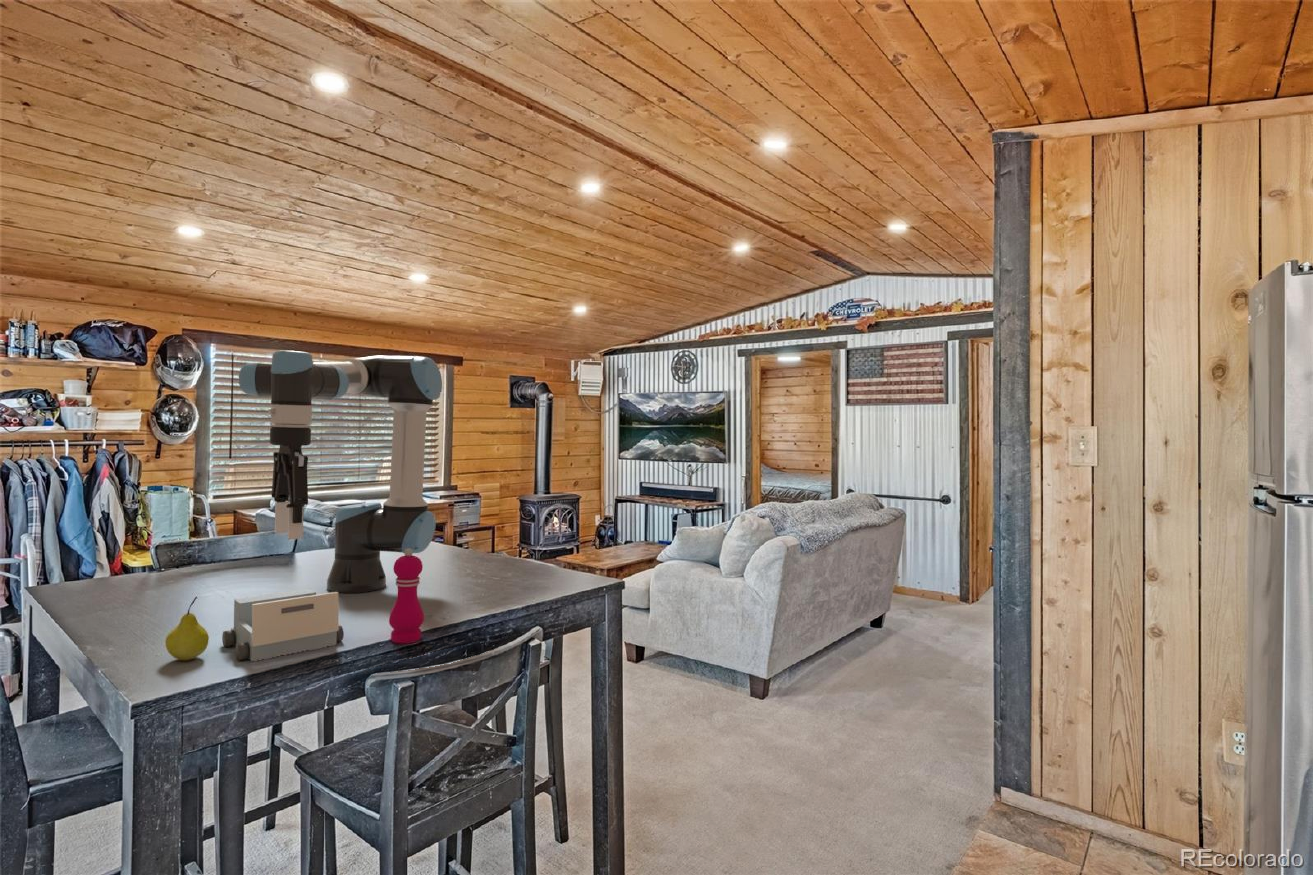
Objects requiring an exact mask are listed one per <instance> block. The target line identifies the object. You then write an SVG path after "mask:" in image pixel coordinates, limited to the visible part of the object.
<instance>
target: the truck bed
mask: <svg viewBox="0 0 1313 875" xmlns="http://www.w3.org/2000/svg"><path fill="white" fill-rule="evenodd" d="M312 595H317V592H316V591H315V590H313V589H311V588H306V589H298V590H291V591H283V592H277V593H269V594H262V595H256V596H249V597H247V596H246V597H240V598H235V599H234V602H233V603H234V604H233V607H234V608H233V627H231V628H230V629H229V630H225V631H223V632H222V634H221V635H222V636H221V639H222V645H223V648H227V647H233V646H235V656H236V658H235V659H236V660H237V661H239V662H240V661H245V660H249V659H250V660H251V661H250V660H249V661H250V662H251V663H253V662H252V661H254V662H258V661H257V660H259V661H263V660H262V659H264V660H268V659H273V658H272V657H274V658H277V657H276V656H279V655H284V656H287V654H289V655H292V654H291V653H294V654H298V653H297V652H299V653H302V652H301V651H304V652H307V651H306V650H309V651H313V650H318V649H319V650H320V649H324V648H328V647H327V646H329V647H333V646H337V642H341V641H343V639H344V637H345V636H344V628H343V626H342V625H339V631H334V632H329V633H323V634H318V635H313V636H307V637H302V638H296V639H291V640H286V641H280V642H275V643H269V644H264V645H259V646H252V604H257V603H264V602H271V601H278V600H284V599H291V598H298V597H305V596H312ZM323 647H324V648H323ZM279 657H280V656H279Z"/></svg>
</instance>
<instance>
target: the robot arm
mask: <svg viewBox="0 0 1313 875" xmlns="http://www.w3.org/2000/svg"><path fill="white" fill-rule="evenodd" d="M313 361H314V360H313V355H312V354H311V353H310V352H306V351H297V350H296V351H295V350H276V351H275V352H274V353H273V354H272V358H271V362H261V361H259V362H247V363H245V364H244V365H243V366H242V367H241V368H240V370H239V373H238V384H239V388H240V389H241V391H242V392H243V393H244V394H245V395H248V396H252V397H253V396H254V397H258V398H260V397H263V398H264V397H267V398H268V397H269V398H271V400H270V408H269V409H268V410H267V413H268V415H270V424H272V425H273V426H271V427H270V429H269V443H270V445H271V446H272V445H273V446H279V450H278V451H274V452H273V453H272V456H273V473H272V485H271V498H273V500H274V534H285V533H287V536H286V537H287V540H301V539H304V507H305V506H307V505H308V504H309V493H308V492H309V491H308V490H309V488H308V487H309V486H308V483H309V482H308V463H309V462H308V461H309V457H308V456H307V455H304V454H303V452H302V446H309V445H311V442H312V440H311V438H312V429H311V428H310V427H309V425H311V424H312V421H313V420H312V418H313V417H312V416H313V412H312V411H313V410H312V409H313V406H312V400H313V399H316V400H317V399H320V400H321V399H322V400H329V401H331V400H337V399H340V398H342V397H343V396H344V395H345V394H347V395H363V396H371V397H377V398H378V397H379V398H387V400H388V401H387V404H388V405H389V407H390V408H392V410H393V415H392V419H393V420H392V439H391V458H390V459H391V460H390V479H389V497H388V498H387V499H386V500H385V501H384V502H383V504H382V503H381V502H365V503H364V502H363V503H357V504H351V505H345V506H341V507H339V508H337V510H336V512H335V520H334V521H335V522H334V525H335V527H334V560H333V564H332V566H331V568H330V571H329V574H328V576H327V579H326V580H327V581H326V589H327V590H328V591H330V592H338V593H342V594H349V593H351V594H354V593H355V594H358V593H367V592H373V591H377V590H381V589H382V588H384V587H386V585H387V583H386V582H387V576H386V574H385V570H384V567H383V564H382V562H381V552H386V553H387V552H389V553H403V554H404V551H405V550H406V549H408V548H410V549H412V551H413V554H420V553H422V552H424V551H425V550H426V549H427V548H428V547H429V546H430V544H431V542H432V541H433V537H434V536H435V531H436V526H437V525H436V523H437V522H436V521H437V520H436V517H435V514H434V513H433V512H431V511H430V510H429V503H427V501H426V500H424V497H423V494H424V491H423V490H424V474H425V472H424V471H425V456H426V455H425V451H426V432H427V429H426V428H427V413H428V411H429V410H430V409H431V408H433V402H434V401H435V400H437V399H438V398H439V397H440V396H441V392H442V390H443V379H442V374H441V371H440V368H439V366H438V364H437V363H436V362H435V361H434V360H433V359H432V358H430V357H427V356H419V355H385V354H384V355H382V354H380V355H370V356H364V357H357V358H356V357H355V358H353V357H352V358H346V359H343V360H342V361H340V362H338V361H335V362H329V361H328V362H325V361H324V362H323V361H322V362H313Z"/></svg>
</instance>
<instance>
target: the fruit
mask: <svg viewBox="0 0 1313 875" xmlns="http://www.w3.org/2000/svg"><path fill="white" fill-rule="evenodd" d="M197 599H198V596H195V598H194V599H193V600H192V602H191V603H190V605H189V607H188V610H187V613H185V614H184V615H183V616H181V619H180V621H179V623H178V624H177V626H176V627H174V628H173V629H172V630H171V631H170V632H169V633H168V634H167V636H165V637H166V638H165V641H164V642H165V647H166V650H167V652H168V654H169V655H171V657H173V658H174V659H177V660H179V661H191V660H194V659H196V658H197V657H198V656H200V655H202V654H203V653H204V652H205V651H206V650H207V648H208V645H209V637H210V636H209V633H208V631H207V630H206V629H205V628H204V626H202V625H201V624H200V623H199V621H198V620H197V617H196V615H195V614H194V613H190V609H191V607H192V606H193V604H195V602H196V600H197Z"/></svg>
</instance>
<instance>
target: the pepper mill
mask: <svg viewBox="0 0 1313 875" xmlns="http://www.w3.org/2000/svg"><path fill="white" fill-rule="evenodd" d="M403 554H404V555H402V556H400V557H398V558H397V559H396V560H395V562H394V564H393V567H392V568H393V573H394V574H395V576H396V578H395V586H397V597H396V601H395V602H394V605H393V606H392V608H391V612H390V614H389V619H388V624H389V625H390V627H391V628H392V629H393V630H391V632H390V641H391V642H393V643H397V644H411V643H416V642H418V641H420V640H421V638H422V629H421V628H420V627H421V626H422V625H423V623H424V622H425V614H424V610H423V607H422V604H420V600H419V597H418V596H419V595H418V585H420V583H421V582H420V580H421V578H420V575H421V573H422V571H423V562H422V560H421V558H419V556H415V555H414V553H413V551H412V549H410V548H408V549H406V550H405V551H404V553H403Z"/></svg>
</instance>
